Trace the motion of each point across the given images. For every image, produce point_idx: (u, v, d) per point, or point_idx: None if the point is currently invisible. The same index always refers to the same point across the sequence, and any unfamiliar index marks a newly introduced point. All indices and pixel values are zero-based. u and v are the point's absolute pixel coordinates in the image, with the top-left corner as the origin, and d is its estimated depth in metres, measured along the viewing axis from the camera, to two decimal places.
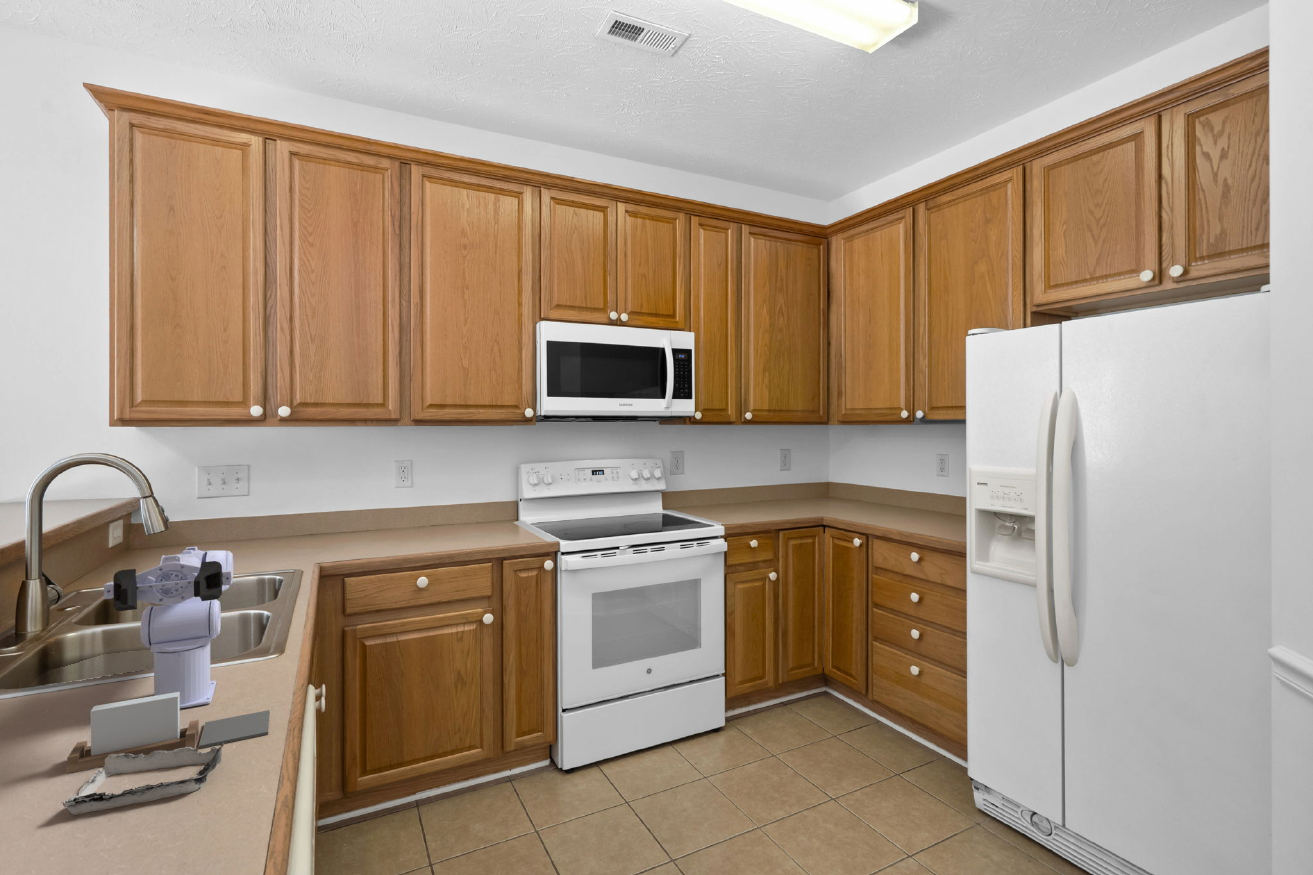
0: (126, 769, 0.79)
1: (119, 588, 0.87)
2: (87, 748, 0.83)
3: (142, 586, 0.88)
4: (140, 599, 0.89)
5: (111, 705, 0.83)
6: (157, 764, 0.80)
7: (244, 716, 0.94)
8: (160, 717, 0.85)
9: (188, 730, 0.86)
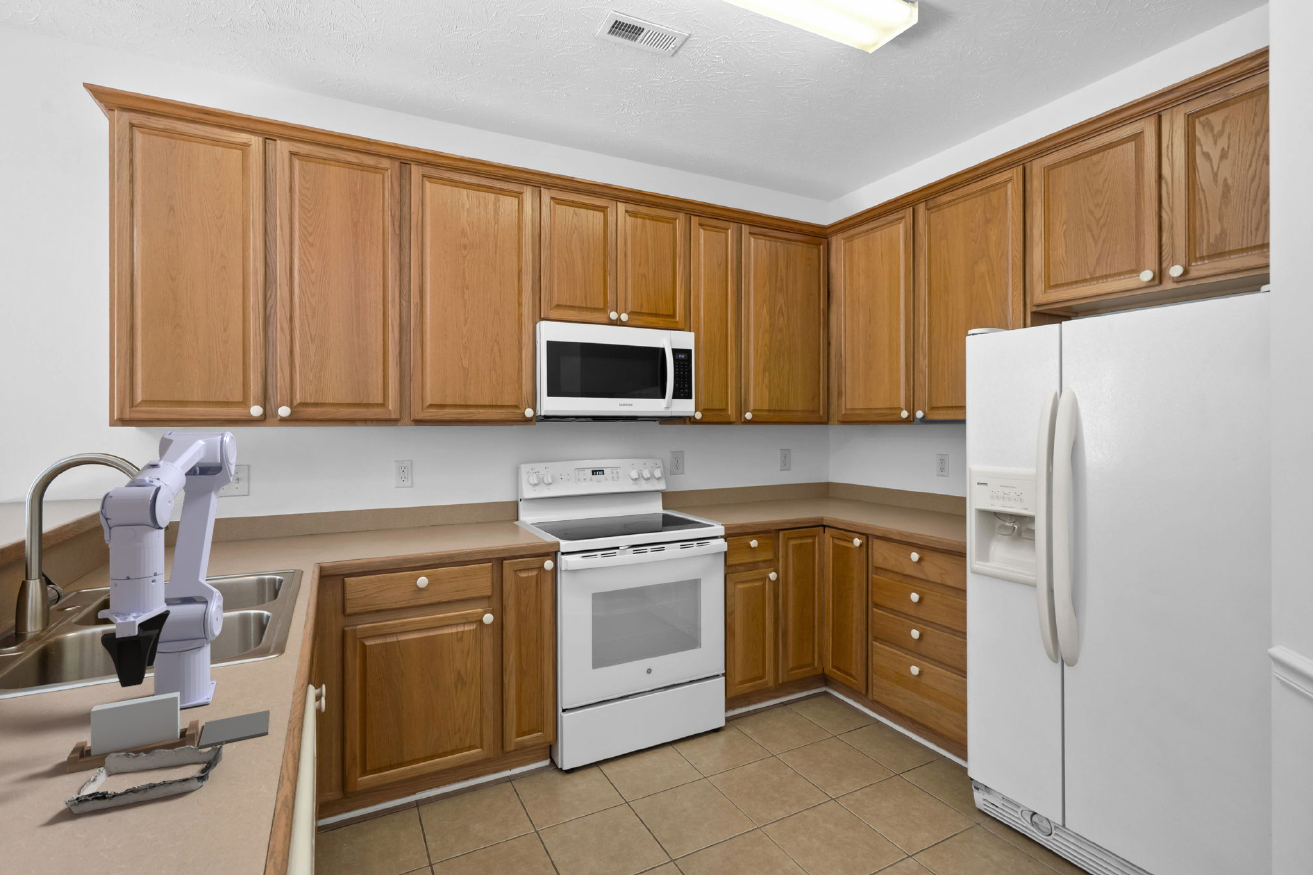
0: (126, 768, 0.80)
1: None
2: (87, 748, 0.83)
3: None
4: None
5: (111, 705, 0.83)
6: (158, 763, 0.81)
7: (244, 716, 0.94)
8: (160, 717, 0.85)
9: (188, 730, 0.86)
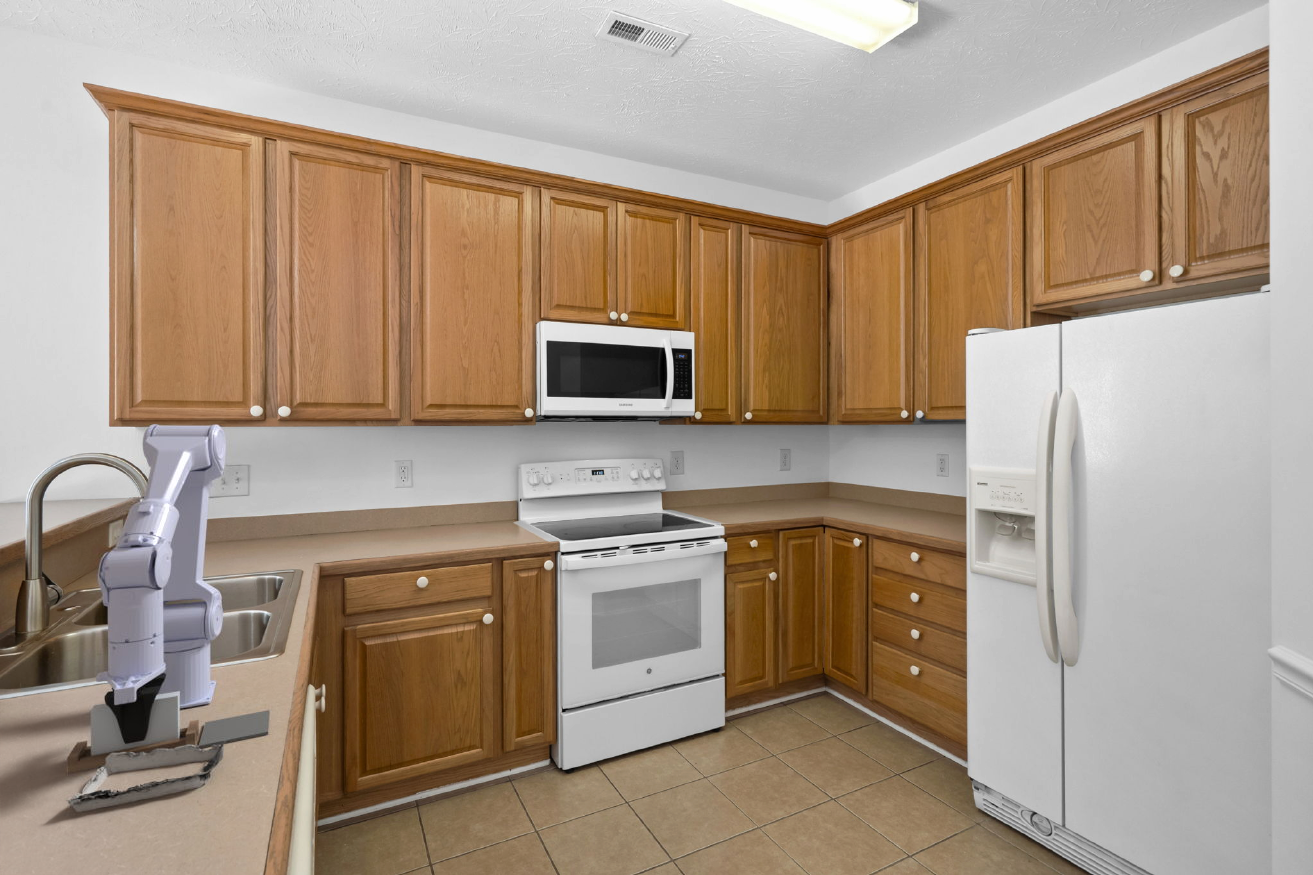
0: (127, 768, 0.80)
1: None
2: (87, 748, 0.83)
3: None
4: None
5: None
6: (158, 762, 0.81)
7: (244, 716, 0.94)
8: (160, 716, 0.85)
9: (188, 730, 0.86)
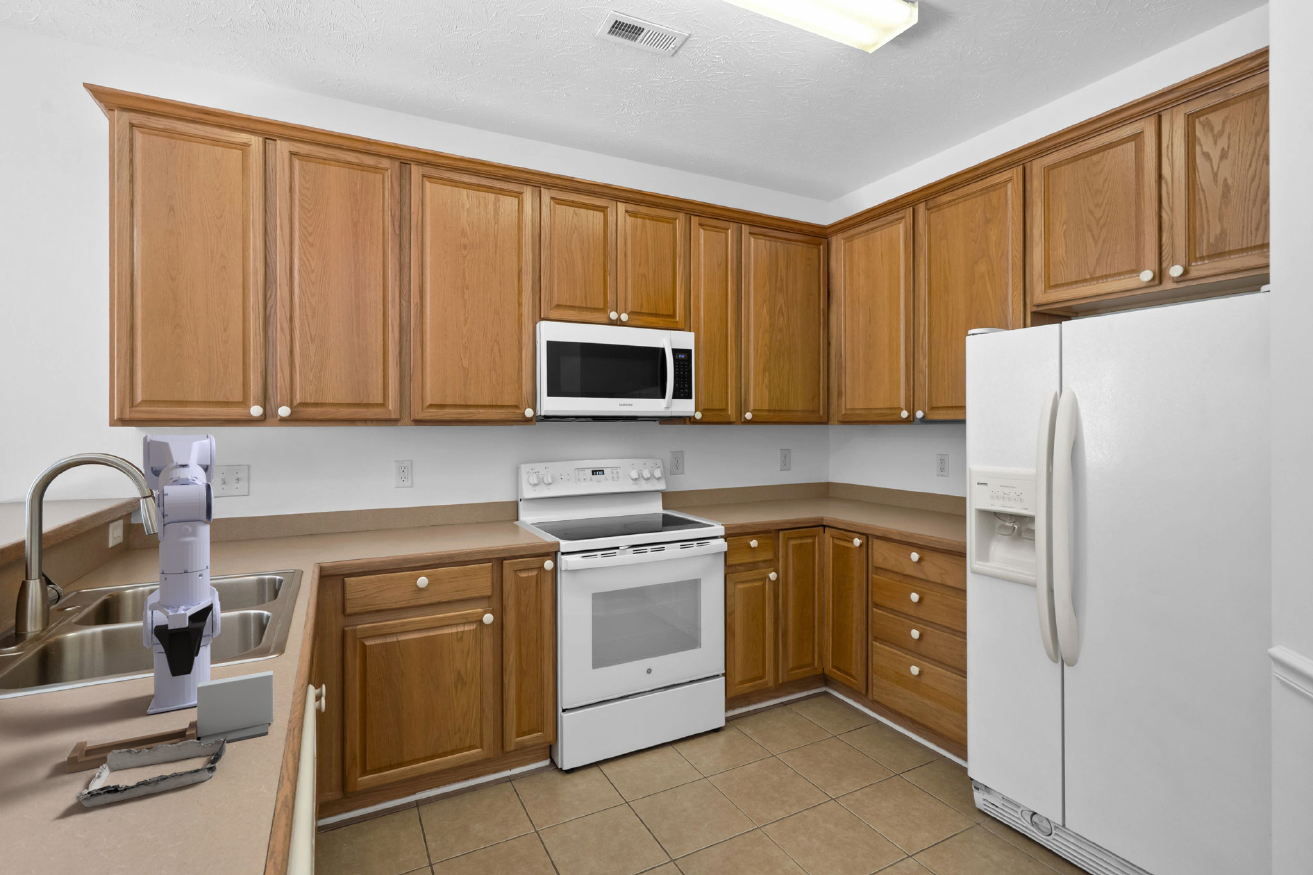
0: (128, 764, 0.81)
1: None
2: (87, 748, 0.83)
3: None
4: None
5: (214, 682, 0.89)
6: (161, 758, 0.82)
7: None
8: (257, 693, 0.91)
9: (188, 730, 0.86)
